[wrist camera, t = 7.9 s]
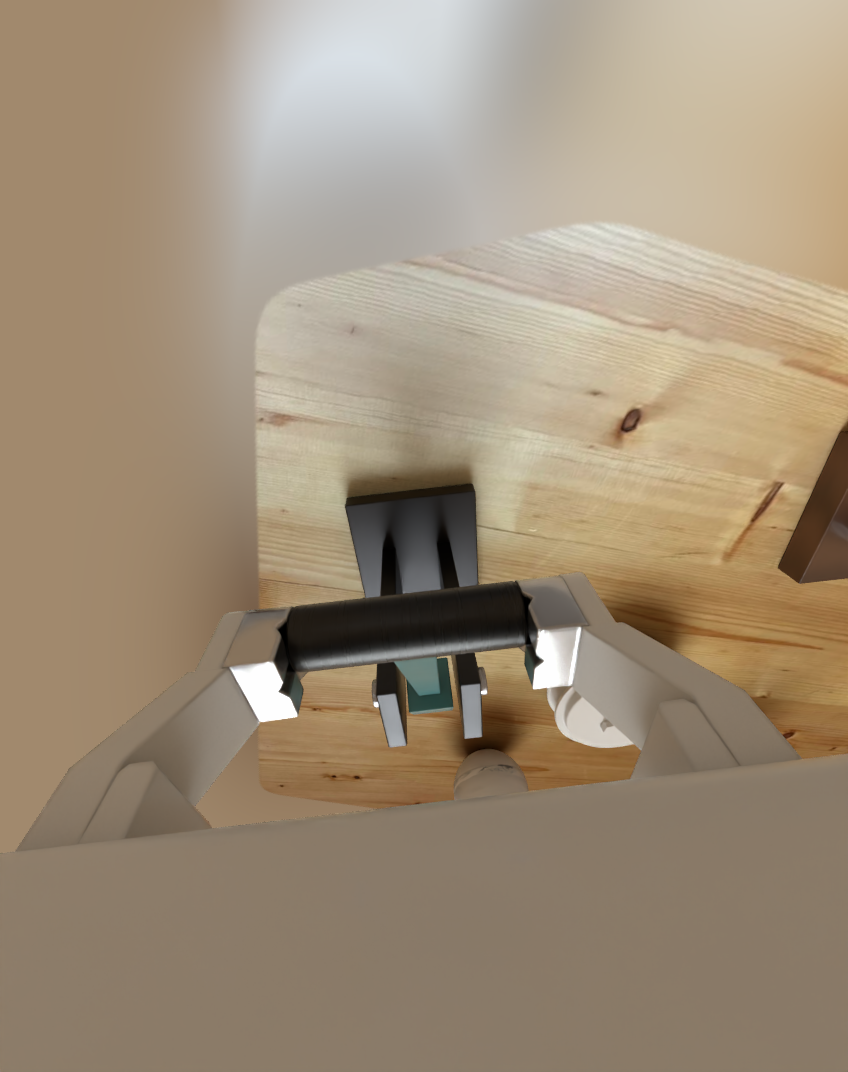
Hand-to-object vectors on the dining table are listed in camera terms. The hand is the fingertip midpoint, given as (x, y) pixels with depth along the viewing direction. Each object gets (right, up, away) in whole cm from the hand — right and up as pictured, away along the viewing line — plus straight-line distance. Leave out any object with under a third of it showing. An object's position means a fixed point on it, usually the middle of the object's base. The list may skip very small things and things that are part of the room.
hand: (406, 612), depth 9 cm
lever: (0, -2, +7) cm, 7 cm away
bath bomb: (+7, -24, +38) cm, 45 cm away
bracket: (0, 0, +22) cm, 22 cm away
